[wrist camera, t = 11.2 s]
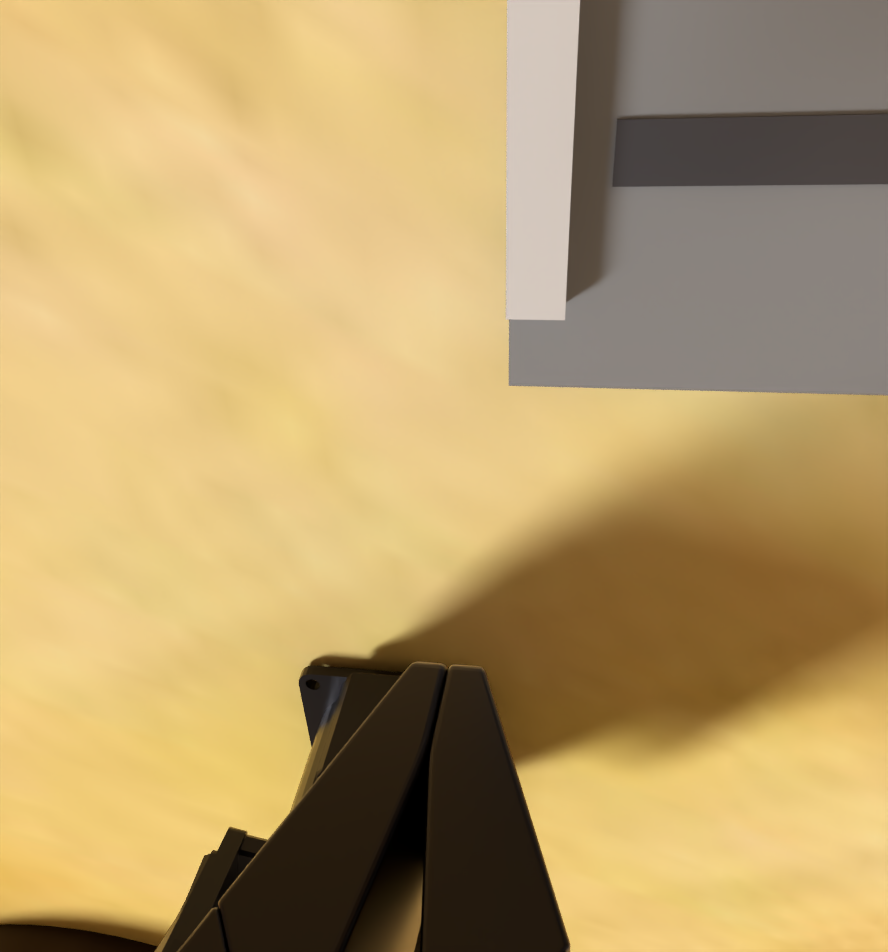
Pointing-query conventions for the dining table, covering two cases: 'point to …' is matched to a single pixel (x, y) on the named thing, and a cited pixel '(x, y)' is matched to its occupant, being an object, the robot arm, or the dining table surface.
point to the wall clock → (64, 940)
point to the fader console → (698, 195)
